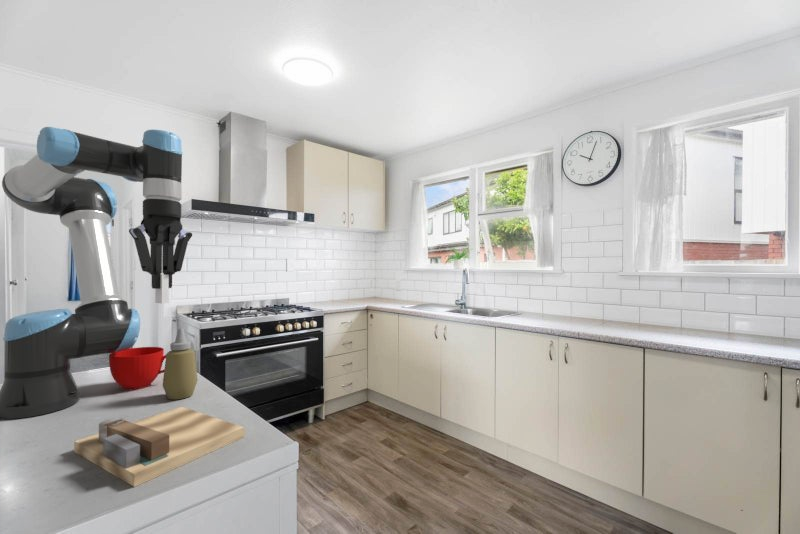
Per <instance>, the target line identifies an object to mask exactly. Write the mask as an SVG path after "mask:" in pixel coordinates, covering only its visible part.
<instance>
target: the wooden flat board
mask: <svg viewBox="0 0 800 534" xmlns="http://www.w3.org/2000/svg"><path fill="white" fill-rule="evenodd" d="M131 423H134V424H137V425H140V426H144V427H147V428H150V429H153V430H156V431H159V432H162V433H165V434H168V435H169V452H168V453H166V454H164V455H162V456H159V457H157V458H155V459H153V460H150V459H148V458H145V457H142V456H140V445H139V444H137V443H135V442H133V441H131V440H129V439H126V438H124V437H122V436H120V435H118V434H115V435H112V436H109V437H106V438H103V443H101V442H99V432H97V433H95V434H92V435H89V436H86V437H82V438H80V439H77V440H74V442H73V443H74V445H73V446H74V448H73V451H74V453H75V454H77V455H79V456H80V457H82V458H84V459H85V460H87V461H89V462H91V463H93V464H94V465H96V466H98V467H99V468H102V470H105V471H106V472H108V473H110V474H111V475H113V476H115V477H116V478H118V479H120V480H122V481H124V483H126V484H129V485H130V486H132V487H133V488H135V487H137V486H139V485H142V484H144V483H147V482H149V481H151V480H154V479H155V478H157V477H160V476H162V475H163V474H164V475H165V474H166V473H168V472H170V471H173V470H174V469H175V470H176V469H177V468H179V467H181V466H183V465H186V464H188V463H190V462H192V461H195V460H197V459H199V458H202V457H203V456H204V457H205V455H208V454H211V453H213V452H214V451H217V450H219V449H221V448H223V447H225V446H227V445H230V444H232V443H234V442H236V441H238V440H239V441H240V440H241V439H243V438H244V437H245V427H244V426H241V425H238V424H235V423H232V422H229V421H226V420H223V419H220V418H217V417H214V416H211V415H208V414H205V413H201V412H199V411H196V410H194V409H190V408H187V407H184V406H180V407H177V408H173V409H170V410H167V411H164V412H161V413H158V414H155V415H152V416H149V417H146V418H143V419H139V420H136V421H133V422H131Z"/></svg>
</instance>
